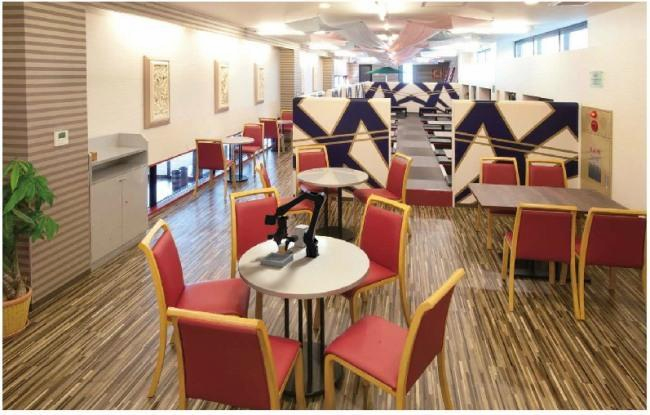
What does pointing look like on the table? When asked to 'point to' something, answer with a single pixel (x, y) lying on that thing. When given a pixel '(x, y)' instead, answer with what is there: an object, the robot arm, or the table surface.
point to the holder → (287, 252)
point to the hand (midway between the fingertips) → (283, 250)
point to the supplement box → (300, 235)
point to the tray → (276, 259)
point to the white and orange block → (282, 248)
